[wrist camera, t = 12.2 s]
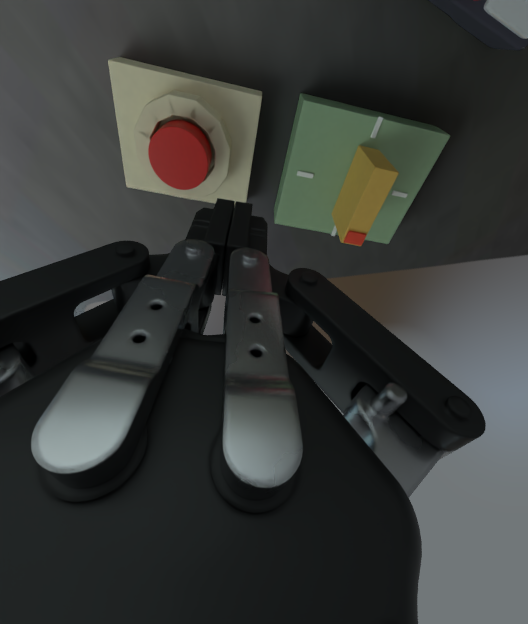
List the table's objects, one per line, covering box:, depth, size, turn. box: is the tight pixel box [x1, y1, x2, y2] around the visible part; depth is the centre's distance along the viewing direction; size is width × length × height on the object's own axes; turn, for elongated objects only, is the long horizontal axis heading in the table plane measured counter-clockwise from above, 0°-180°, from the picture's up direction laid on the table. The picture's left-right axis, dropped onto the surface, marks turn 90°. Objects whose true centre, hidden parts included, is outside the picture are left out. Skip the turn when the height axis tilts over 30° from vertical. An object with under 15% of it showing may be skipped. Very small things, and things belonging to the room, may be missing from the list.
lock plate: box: [274, 93, 450, 244], centre depth 26 cm, size 12×10×3 cm
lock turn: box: [332, 145, 399, 246], centre depth 23 cm, size 6×2×5 cm, turn 168°
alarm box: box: [108, 57, 262, 207], centre depth 24 cm, size 11×9×4 cm
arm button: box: [148, 120, 212, 190], centre depth 22 cm, size 4×4×2 cm
